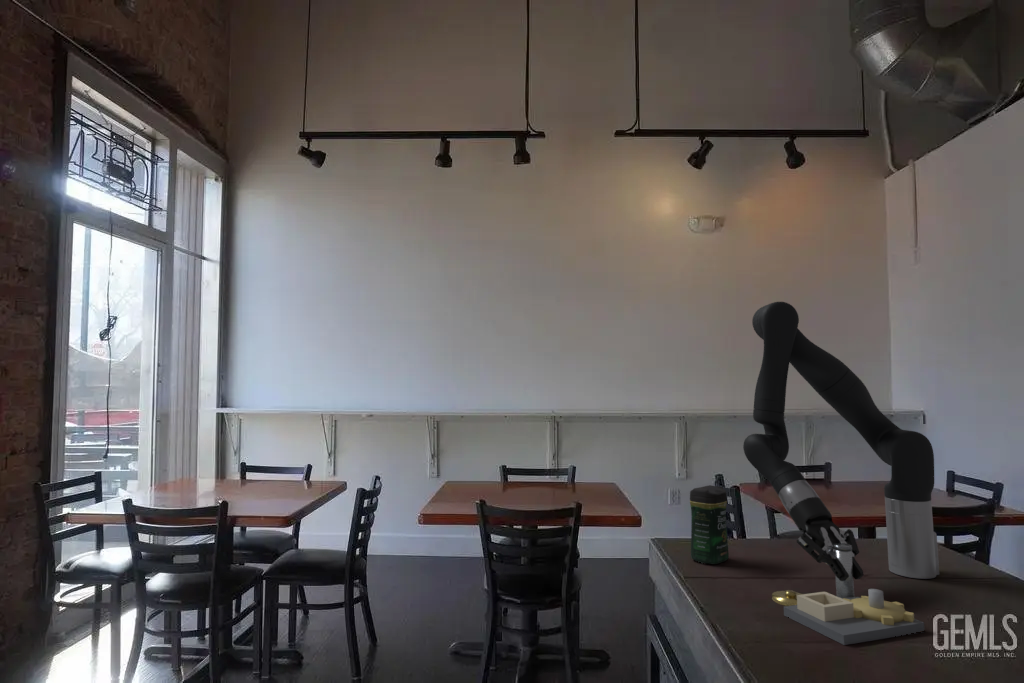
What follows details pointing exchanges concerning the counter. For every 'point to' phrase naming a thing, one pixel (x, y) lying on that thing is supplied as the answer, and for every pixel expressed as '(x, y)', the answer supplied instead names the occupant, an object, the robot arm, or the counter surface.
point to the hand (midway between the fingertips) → (852, 577)
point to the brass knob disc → (785, 597)
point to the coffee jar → (709, 525)
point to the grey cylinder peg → (845, 557)
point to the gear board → (853, 617)
